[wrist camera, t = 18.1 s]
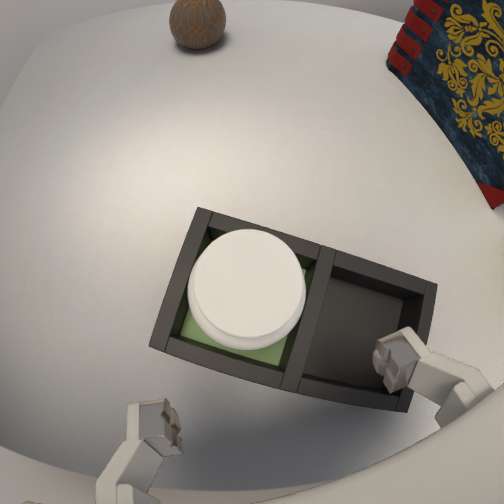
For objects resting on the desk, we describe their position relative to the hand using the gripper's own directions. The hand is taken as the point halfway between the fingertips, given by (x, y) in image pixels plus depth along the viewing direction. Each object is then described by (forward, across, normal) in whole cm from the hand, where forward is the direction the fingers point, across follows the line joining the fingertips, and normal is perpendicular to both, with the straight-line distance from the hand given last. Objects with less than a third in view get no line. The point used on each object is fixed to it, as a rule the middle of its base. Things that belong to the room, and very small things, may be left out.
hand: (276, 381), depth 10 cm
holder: (+10, -4, +8) cm, 14 cm away
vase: (+36, -2, -17) cm, 39 cm away
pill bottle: (+12, 0, +6) cm, 13 cm away
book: (+23, -31, -4) cm, 39 cm away
